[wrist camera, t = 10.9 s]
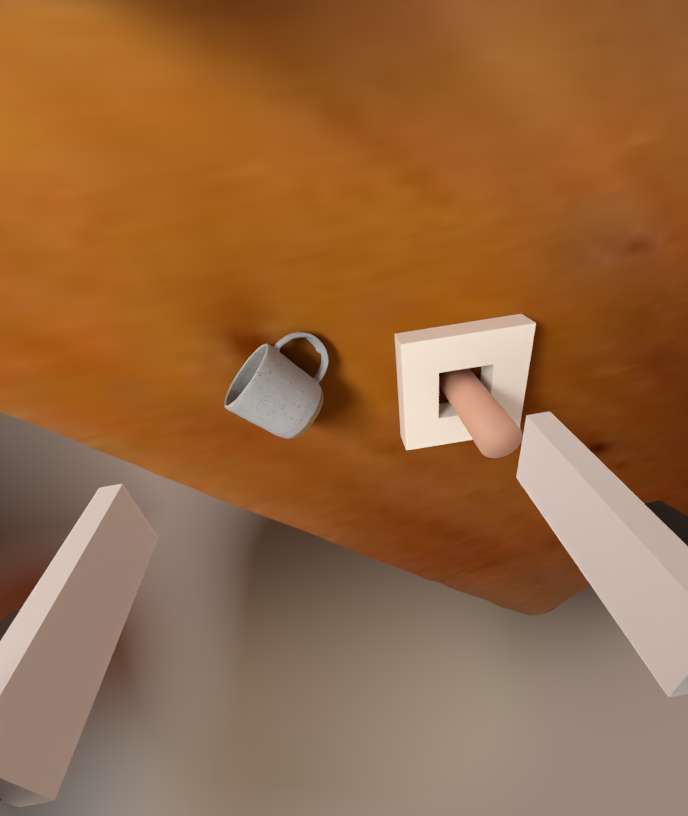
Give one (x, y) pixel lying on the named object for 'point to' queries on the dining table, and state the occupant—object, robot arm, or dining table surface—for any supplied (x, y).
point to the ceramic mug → (278, 390)
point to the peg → (480, 413)
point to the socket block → (454, 350)
